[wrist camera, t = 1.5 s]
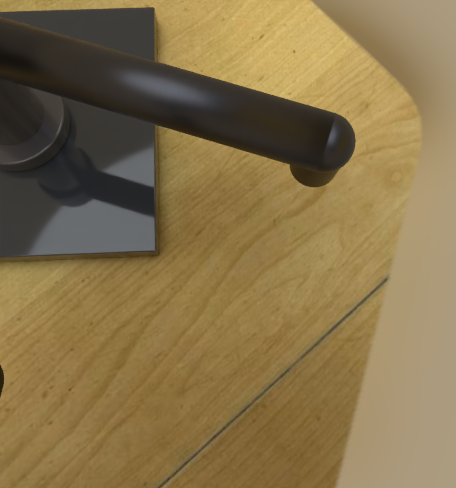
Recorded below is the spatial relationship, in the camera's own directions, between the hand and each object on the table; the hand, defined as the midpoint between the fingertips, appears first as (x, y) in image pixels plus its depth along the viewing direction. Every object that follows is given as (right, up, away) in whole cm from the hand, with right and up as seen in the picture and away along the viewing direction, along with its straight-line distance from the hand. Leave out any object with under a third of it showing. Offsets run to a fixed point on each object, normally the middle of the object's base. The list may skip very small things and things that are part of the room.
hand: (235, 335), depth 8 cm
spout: (-4, +7, +9) cm, 12 cm away
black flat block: (-11, +8, +15) cm, 20 cm away
